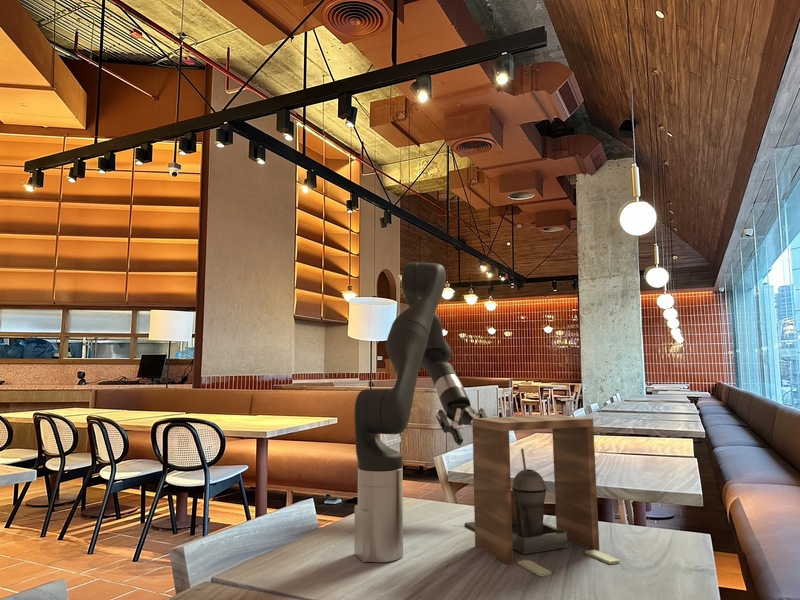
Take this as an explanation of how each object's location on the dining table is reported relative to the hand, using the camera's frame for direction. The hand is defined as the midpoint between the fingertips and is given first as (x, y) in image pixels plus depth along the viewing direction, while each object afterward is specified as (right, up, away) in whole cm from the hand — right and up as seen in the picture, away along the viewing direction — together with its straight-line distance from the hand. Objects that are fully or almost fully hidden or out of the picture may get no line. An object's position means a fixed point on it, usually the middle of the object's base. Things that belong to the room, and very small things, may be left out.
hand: (473, 442), depth 143 cm
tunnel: (+10, -15, -27) cm, 32 cm away
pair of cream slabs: (+14, -14, -36) cm, 41 cm away
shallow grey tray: (+9, -15, -24) cm, 30 cm away
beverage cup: (+9, -16, -25) cm, 31 cm away
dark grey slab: (+4, -17, -12) cm, 22 cm away
